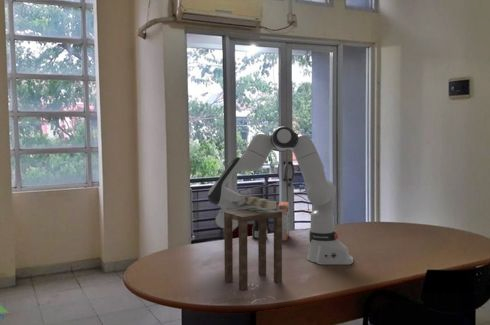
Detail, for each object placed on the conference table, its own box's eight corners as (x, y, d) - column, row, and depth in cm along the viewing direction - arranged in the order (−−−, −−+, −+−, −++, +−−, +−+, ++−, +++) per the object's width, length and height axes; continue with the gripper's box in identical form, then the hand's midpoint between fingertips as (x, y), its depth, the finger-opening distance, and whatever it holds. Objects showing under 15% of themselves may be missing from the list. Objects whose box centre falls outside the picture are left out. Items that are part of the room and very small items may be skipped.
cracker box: (287, 241, 264) (287, 205, 262) (276, 240, 265) (277, 205, 264) (289, 235, 278) (290, 201, 276) (280, 235, 279) (280, 201, 277)
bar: (240, 202, 206) (240, 195, 206) (247, 201, 208) (247, 194, 207) (269, 209, 187) (269, 202, 187) (276, 208, 189) (276, 201, 189)
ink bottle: (255, 240, 266) (255, 220, 265) (249, 237, 274) (249, 217, 274) (270, 238, 270) (270, 218, 269) (263, 235, 278) (263, 216, 277)
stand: (224, 281, 195) (224, 211, 193) (262, 272, 206) (262, 206, 204) (242, 290, 184) (242, 216, 181) (281, 281, 194) (282, 211, 192)
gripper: (214, 206, 208) (228, 194, 198) (252, 202, 219) (266, 190, 209) (218, 219, 206) (232, 208, 195) (255, 214, 217) (270, 203, 206)
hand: (250, 199), depth 202 cm, fingers closed on bar, 3 cm apart
